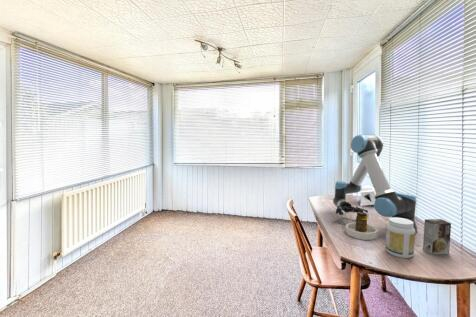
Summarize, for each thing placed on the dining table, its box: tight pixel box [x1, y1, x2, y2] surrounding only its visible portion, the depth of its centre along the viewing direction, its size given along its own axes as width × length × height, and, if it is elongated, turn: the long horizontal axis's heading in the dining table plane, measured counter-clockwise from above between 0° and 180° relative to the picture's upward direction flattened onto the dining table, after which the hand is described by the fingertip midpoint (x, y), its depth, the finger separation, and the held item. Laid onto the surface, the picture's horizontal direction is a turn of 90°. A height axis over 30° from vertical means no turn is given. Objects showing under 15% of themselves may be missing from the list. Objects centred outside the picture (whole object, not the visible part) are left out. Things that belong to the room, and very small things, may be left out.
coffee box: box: [422, 218, 452, 255], centre depth 128 cm, size 9×6×16 cm
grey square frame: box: [334, 216, 356, 226], centre depth 171 cm, size 14×14×1 cm
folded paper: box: [360, 184, 376, 207], centre depth 217 cm, size 17×24×17 cm
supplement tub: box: [385, 217, 416, 259], centre depth 126 cm, size 12×12×17 cm
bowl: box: [344, 222, 379, 241], centre depth 151 cm, size 17×17×4 cm
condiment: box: [354, 212, 368, 233], centre depth 150 cm, size 7×8×12 cm
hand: (356, 215), depth 157 cm, fingers open, 13 cm apart
